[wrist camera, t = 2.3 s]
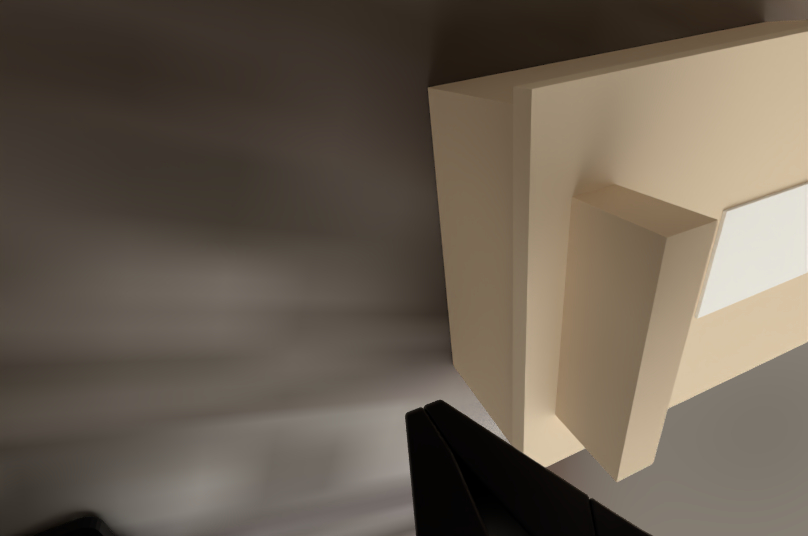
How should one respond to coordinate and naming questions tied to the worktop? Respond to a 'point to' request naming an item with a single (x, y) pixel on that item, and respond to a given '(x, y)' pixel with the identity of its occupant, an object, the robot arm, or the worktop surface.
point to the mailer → (503, 205)
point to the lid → (654, 240)
